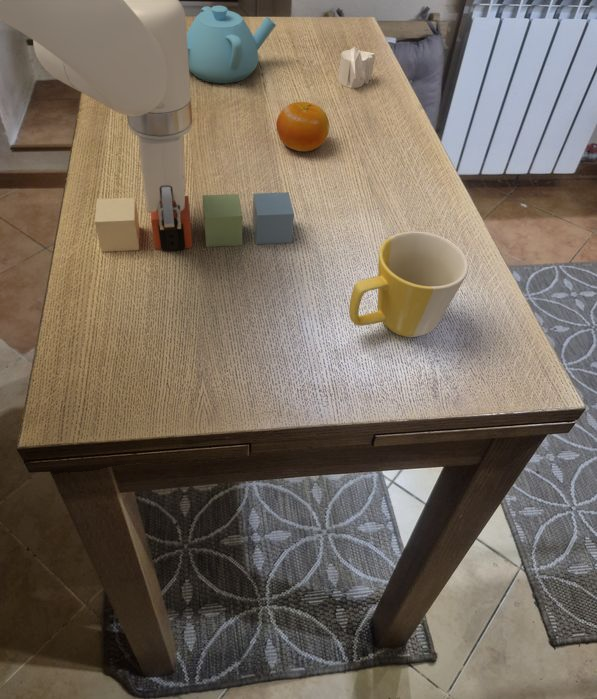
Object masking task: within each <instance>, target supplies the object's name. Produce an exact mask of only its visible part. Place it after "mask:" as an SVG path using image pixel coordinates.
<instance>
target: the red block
mask: <svg viewBox="0 0 597 699" xmlns="http://www.w3.org/2000/svg"><path fill="white" fill-rule="evenodd" d="M173 204H176V202H175V201H174V202H173ZM161 205H162V202H161ZM173 215H174V218H176V211H173ZM180 217H181V224H183V229H184V240H185V249H190V248H191V249H192V248H193V238H192V225H191V211H190V199H189V195H185V208H184V209H183V210H182V211H181V212H180ZM163 218H164V217H163ZM176 220H177V219H176ZM150 223H151V229H152V236H153V243H154V249H155V250H161V243H160V236H159V228H158V225H160V224H159V214H158V208H157V211H156V212H151V213H150Z"/></svg>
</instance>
